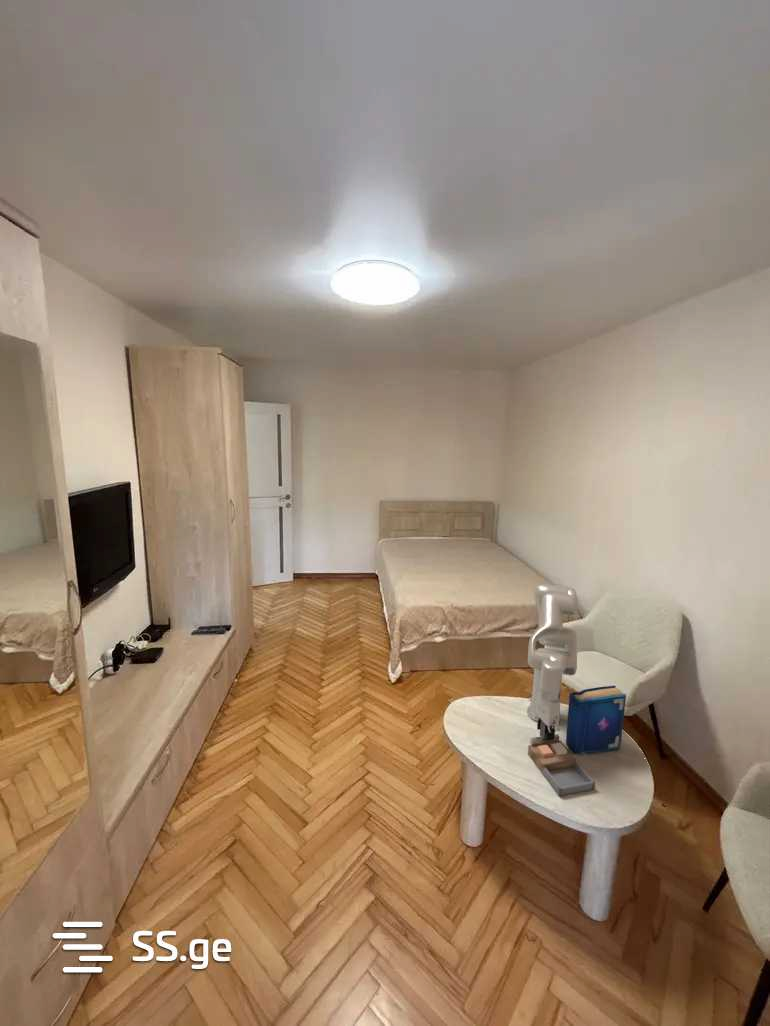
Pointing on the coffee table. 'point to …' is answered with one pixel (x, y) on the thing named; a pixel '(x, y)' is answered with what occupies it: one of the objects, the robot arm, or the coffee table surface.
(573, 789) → the box
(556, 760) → the brown tray
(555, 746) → the tile cream
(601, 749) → the book
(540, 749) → the tile terracotta
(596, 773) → the coffee table surface
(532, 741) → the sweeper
